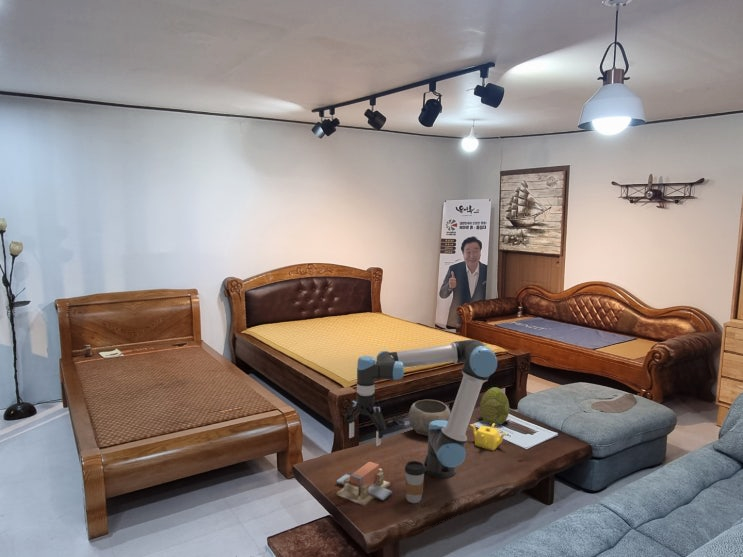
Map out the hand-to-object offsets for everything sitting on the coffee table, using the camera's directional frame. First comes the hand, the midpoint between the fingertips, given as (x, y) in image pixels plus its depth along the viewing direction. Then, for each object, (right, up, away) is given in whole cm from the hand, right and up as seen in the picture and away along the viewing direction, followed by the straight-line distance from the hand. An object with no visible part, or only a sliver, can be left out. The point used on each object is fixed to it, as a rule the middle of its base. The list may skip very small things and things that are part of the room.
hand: (364, 440), depth 221 cm
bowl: (+34, -14, +62) cm, 72 cm away
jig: (0, -21, +1) cm, 21 cm away
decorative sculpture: (+73, -13, +78) cm, 108 cm away
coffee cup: (+20, -23, -5) cm, 31 cm away
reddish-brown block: (0, -19, +1) cm, 19 cm away
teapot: (+63, -17, +47) cm, 80 cm away
